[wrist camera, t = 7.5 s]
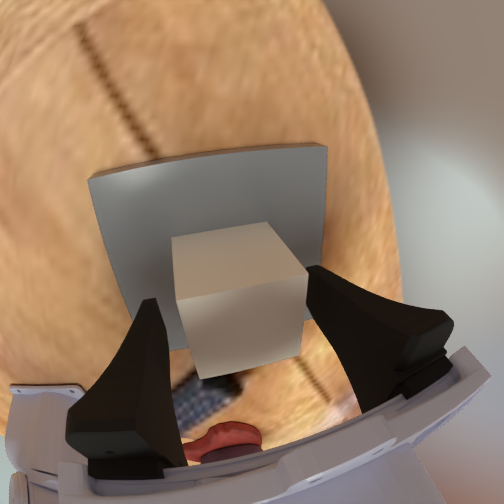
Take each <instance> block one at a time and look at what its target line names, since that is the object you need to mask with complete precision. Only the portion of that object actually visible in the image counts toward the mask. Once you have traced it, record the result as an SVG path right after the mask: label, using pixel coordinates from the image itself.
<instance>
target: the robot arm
mask: <svg viewBox="0 0 504 504" xmlns="http://www.w3.org/2000/svg"><path fill="white" fill-rule="evenodd" d="M306 271H307V272H308V285H307V296H306V306H307V308H308V310H309V312H310V314H311V316H312V317H313V319H314V320H315V322H316V323H317V325H318V326H319V328H320V329H321V331H322V332H323V334H324V335H325V337H326V338H327V340H328V341H329V343H330V344H331V346H332V347H333V349H334V350H335V352H336V354H337V356H338V358H339V360H340V362H341V364H342V366H343V368H344V370H345V372H346V374H347V376H348V379H349V381H350V383H351V385H352V388H353V390H354V393H355V395H356V398H357V400H358V403H359V406H360V409H361V412H362V414H361V415H359V416H357V417H355V418H353V419H351V420H348V421H346V422H344V423H342V424H339V425H337V426H334V427H332V428H330V429H327V430H325V431H322V432H319V433H317V434H314V435H311V436H309V437H306V438H303V439H300V440H297V441H294V442H291V443H288V444H285V445H282V446H279V447H275V448H272V449H268V450H265V451H261V452H257V453H253V454H249V455H245V456H241V457H237V458H232V459H227V460H222V461H217V462H211V463H206V464H200V465H193V466H188V463H187V460H186V456H185V453H184V449H183V446H182V442H181V438H180V434H179V430H178V425H177V421H176V416H175V411H174V406H173V401H172V394H171V382H170V358H169V343H168V336H167V329H166V326H165V324H164V321H163V318H162V315H161V312H160V309H159V306H158V303H157V300H156V297H155V298H150V299H144V300H143V301H142V302H141V304H140V307H139V309H138V312H137V314H136V316H135V319H134V321H133V323H132V325H131V327H130V329H129V331H128V333H127V335H126V337H125V339H124V341H123V343H122V345H121V347H120V348H119V350H118V352H117V353H116V355H115V357H114V358H113V360H112V361H111V363H110V364H109V366H108V367H107V368H106V370H105V371H104V372H103V374H102V375H101V376H100V378H99V379H98V380H97V381H96V382H95V384H94V385H93V386H92V387H91V388H90V389H89V390H88V391H87V392H86V393H85V392H84V391H83V389H82V388H81V387H80V386H77V385H65V386H14V385H11V386H9V390H10V391H11V392H12V393H13V398H12V402H11V407H10V412H9V417H8V422H7V428H6V434H5V448H6V452H7V456H8V458H9V460H10V462H11V464H12V465H13V466H14V467H15V469H16V470H17V472H16V473H14V474H12V475H11V479H10V486H9V504H447V503H446V502H445V500H444V499H443V497H442V495H441V494H440V492H439V490H438V489H437V487H436V486H435V484H434V482H433V481H432V479H431V477H430V476H429V474H428V473H427V471H426V469H425V468H424V466H423V465H422V463H421V461H420V460H419V458H418V457H417V455H416V453H415V452H414V450H413V449H412V448H414V447H415V446H417V445H418V444H420V443H421V442H422V441H424V440H425V439H426V438H428V437H429V436H430V435H432V434H433V433H434V432H435V431H437V430H438V429H439V428H441V427H442V426H443V425H444V424H445V423H447V422H448V421H449V420H450V419H452V418H453V417H454V416H455V415H456V414H457V413H459V412H460V411H461V410H462V409H463V408H464V407H465V406H467V405H468V404H469V402H470V401H471V400H472V399H473V398H474V397H475V396H476V395H477V394H478V393H479V392H480V390H481V389H482V388H483V387H484V386H485V385H486V384H487V382H488V381H489V380H490V379H491V375H490V373H489V372H488V371H487V370H486V369H485V368H484V366H483V365H482V364H481V363H480V362H479V361H478V360H477V359H476V358H475V356H474V355H473V354H472V353H471V352H470V351H469V350H468V349H467V348H466V347H465V346H464V347H462V348H461V349H459V350H458V351H457V352H456V353H454V354H453V355H452V356H451V357H450V358H449V359H448V358H447V357H446V356H445V355H446V353H447V351H446V350H445V349H444V345H445V343H446V342H447V340H448V338H449V336H450V334H451V333H452V330H453V327H454V322H453V320H452V319H451V318H450V317H449V316H448V315H447V314H446V313H445V312H444V311H442V310H435V309H426V308H420V307H415V306H410V305H406V304H403V303H399V302H396V301H392V300H389V299H386V298H384V297H381V296H379V295H376V294H374V293H371V292H369V291H367V290H365V289H363V288H361V287H358V286H357V285H355V284H353V283H351V282H349V281H347V280H345V279H343V278H341V277H340V276H338V275H336V274H334V273H332V272H331V271H329V270H327V269H325V268H323V267H321V266H319V265H313V266H309V267H306Z"/></svg>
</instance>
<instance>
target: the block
mask: <svg viewBox="0 0 504 504" xmlns="http://www.w3.org/2000/svg"><path fill="white" fill-rule="evenodd" d="M171 240H172V258H173V272H174V285H175V296H176V303H177V306H178V310H179V314H180V317H181V321H182V324H183V328H184V331H185V335H186V338H187V341H188V344H189V348H190V351H191V354H192V357H193V360H194V363H195V366H196V369H197V372H198V375H199V378H200V379H205V378H210V377H215V376H220V375H224V374H229V373H233V372H238V371H242V370H246V369H251V368H255V367H259V366H262V365H266V364H270V363H274V362H278V361H281V360H285V359H288V358H292V357H295V356H298V355H300V348H301V340H302V332H303V323H304V315H305V305H306V296H307V285H308V272H307V271H306V270H305V269H304V267H303V266H302V265H301V263H300V262H299V261H298V260H297V258H296V257H295V256H294V255H293V253H292V252H291V251H290V250H289V248H288V247H287V246H286V245H285V243H284V242H283V241H282V240H281V238H280V237H279V236H278V235H277V233H276V232H275V231H274V230H273V228H272V227H271V226H270V225H269V224H268V222H261V223H254V224H248V225H242V226H236V227H230V228H223V229H217V230H212V231H206V232H200V233H194V234H188V235H183V236H177V237H171Z"/></svg>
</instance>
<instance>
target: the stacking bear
mask: <svg viewBox="0 0 504 504" xmlns="http://www.w3.org/2000/svg"><path fill="white" fill-rule="evenodd" d="M261 445H262V437H261V434H260V432H259V431H258V430H257V429H256V428H254V427H252V426H250V425H246V424H242V423H235V422H228V423H223V424H219V425H216V426H214V427H212V428H211V429H209V431H208V433H207V435H206V436H205V437H203V438H201V439H199V440H197V441H193V442H188V443H184V444H182V446H183V449H184V453H185V456H186V459H187V460H191V461H195V462H201V464H206V463H211V462H217V461H222V460H227V459H232V458H237V457H241V456H245V455H249V454H253V453H257V452H261V451H263V450H262V449H261Z"/></svg>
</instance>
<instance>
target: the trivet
mask: <svg viewBox="0 0 504 504" xmlns="http://www.w3.org/2000/svg"><path fill="white" fill-rule="evenodd" d="M327 151H328V147H327V146H324V145H321V144H318V143H304V144H283V145H268V146H256V147H245V148H235V149H226V150H218V151H210V152H202V153H195V154H189V155H182V156H176V157H170V158H164V159H159V160H154V161H148V162H143V163H138V164H134V165H129V166H124V167H120V168H116V169H111V170H107V171H103V172H99V173H95V174H93V175H92V176H91V177H90V178H89V179H88V180H87V181H88V185H89V190H90V194H91V198H92V202H93V206H94V210H95V214H96V217H97V221H98V225H99V228H100V231H101V235H102V238H103V241H104V245H105V248H106V251H107V254H108V257H109V260H110V263H111V266H112V269H113V272H114V274H115V277H116V280H117V283H118V285H119V288H120V291H121V293H122V296H123V298H124V301H125V304H126V306H127V308H128V311H129V313H130V316H131V318H132V320H133V321H134V319H135V316H136V314H137V312H138V309H139V307H140V304H141V302H142V301H143V300H144V299H150V298H155V297H156V300H157V303H158V306H159V309H160V312H161V315H162V318H163V321H164V324H165V326H166V329H167V336H168V343H169V351H174V350H180V349H185V348H189V344H188V341H187V338H186V335H185V331H184V328H183V324H182V321H181V317H180V314H179V310H178V306H177V303H176V296H175V285H174V272H173V258H172V240H171V237H177V236H183V235H188V234H194V233H200V232H206V231H212V230H217V229H223V228H230V227H236V226H242V225H248V224H254V223H261V222H268V224H269V225H270V226H271V227H272V228H273V230H274V231H275V232H276V233H277V235H278V236H279V237H280V238H281V240H282V241H283V242H284V243H285V245H286V246H287V247H288V248H289V250H290V251H291V252H292V253H293V255H294V256H295V257H296V258H297V260H298V261H299V262H300V263H301V265H302V266H303V267H304V269H305V270H306V267H309V266H313V265H319V266H320V263H321V252H322V241H323V229H324V215H325V199H326V180H327ZM309 319H313V317H312V316H311V314H310V312H309V310H308V308H307V306H306V305H305V315H304V321H306V320H309Z"/></svg>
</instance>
